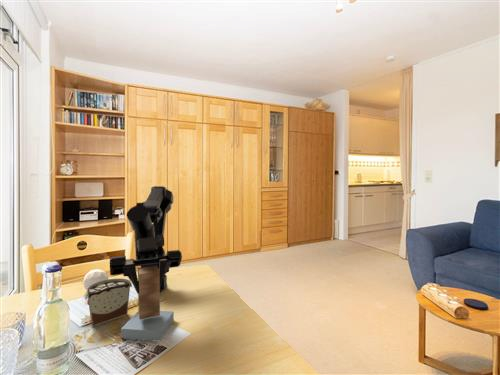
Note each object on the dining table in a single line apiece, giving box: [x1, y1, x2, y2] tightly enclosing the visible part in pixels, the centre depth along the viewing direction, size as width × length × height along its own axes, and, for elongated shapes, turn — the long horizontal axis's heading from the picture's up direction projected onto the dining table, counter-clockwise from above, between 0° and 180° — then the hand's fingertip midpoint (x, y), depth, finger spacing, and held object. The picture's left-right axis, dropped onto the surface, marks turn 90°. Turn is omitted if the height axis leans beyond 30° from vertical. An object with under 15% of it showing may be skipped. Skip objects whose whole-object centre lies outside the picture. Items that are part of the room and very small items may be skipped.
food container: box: [84, 278, 133, 327], centre depth 81 cm, size 12×6×10 cm, turn 134°
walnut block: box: [137, 266, 161, 319], centre depth 75 cm, size 5×5×12 cm
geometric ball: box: [82, 268, 109, 291], centre depth 99 cm, size 8×8×8 cm
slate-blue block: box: [120, 310, 175, 341], centre depth 75 cm, size 10×10×3 cm
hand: (149, 291), depth 74 cm, fingers closed on walnut block, 5 cm apart
